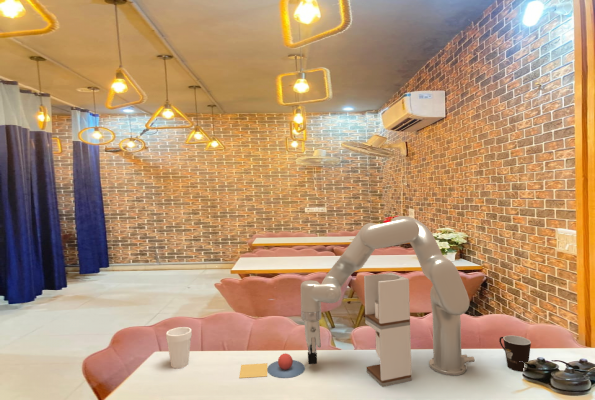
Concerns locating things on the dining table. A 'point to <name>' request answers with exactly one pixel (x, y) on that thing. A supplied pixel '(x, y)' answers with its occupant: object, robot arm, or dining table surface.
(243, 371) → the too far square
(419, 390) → the dining table surface
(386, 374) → the display case
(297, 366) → the disc
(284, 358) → the ball
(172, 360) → the foam cup
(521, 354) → the coffee mug
